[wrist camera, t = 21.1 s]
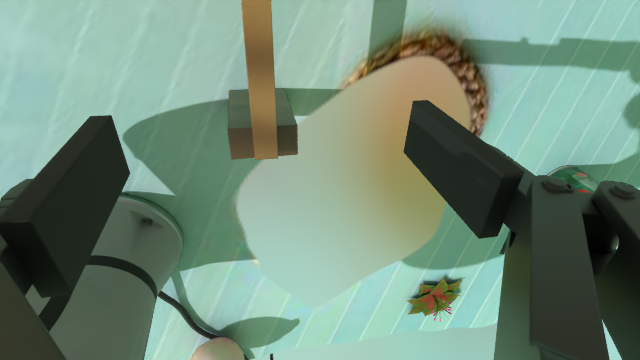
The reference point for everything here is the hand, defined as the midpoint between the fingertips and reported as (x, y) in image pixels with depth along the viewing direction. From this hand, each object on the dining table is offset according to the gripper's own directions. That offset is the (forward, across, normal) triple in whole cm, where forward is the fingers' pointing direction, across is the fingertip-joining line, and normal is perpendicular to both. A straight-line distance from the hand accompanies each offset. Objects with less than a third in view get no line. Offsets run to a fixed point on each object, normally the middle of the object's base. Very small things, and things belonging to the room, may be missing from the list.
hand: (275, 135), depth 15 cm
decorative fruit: (+24, +10, +50) cm, 56 cm away
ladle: (+24, 0, -1) cm, 24 cm away
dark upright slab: (+24, 0, +7) cm, 25 cm away
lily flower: (+24, -31, +48) cm, 62 cm away
